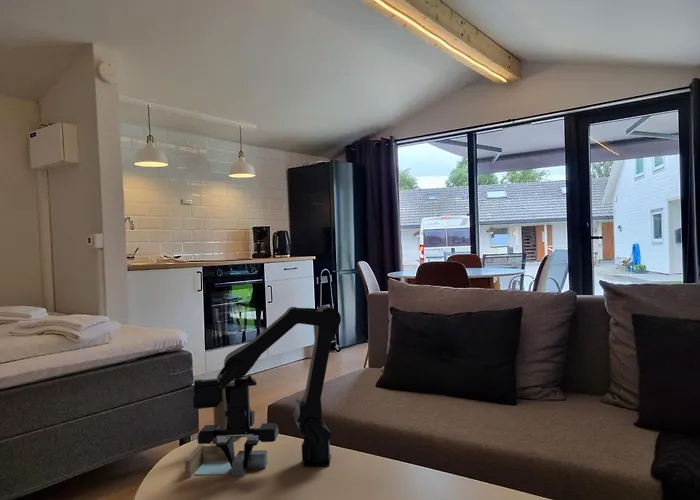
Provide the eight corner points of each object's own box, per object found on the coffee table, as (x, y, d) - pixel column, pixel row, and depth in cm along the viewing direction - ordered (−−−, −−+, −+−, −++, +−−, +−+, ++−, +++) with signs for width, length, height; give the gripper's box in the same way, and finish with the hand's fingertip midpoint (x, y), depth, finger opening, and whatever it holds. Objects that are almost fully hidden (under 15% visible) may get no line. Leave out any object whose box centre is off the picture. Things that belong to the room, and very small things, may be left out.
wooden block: (244, 435, 152) (242, 374, 152) (223, 449, 142) (220, 383, 142) (233, 434, 153) (231, 373, 154) (211, 447, 143) (209, 382, 143)
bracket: (240, 464, 131) (239, 450, 131) (267, 464, 131) (266, 450, 131) (232, 476, 124) (231, 461, 124) (261, 476, 124) (260, 461, 124)
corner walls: (234, 458, 135) (234, 443, 135) (223, 476, 124) (222, 459, 124) (199, 459, 135) (199, 444, 135) (185, 477, 124) (185, 460, 125)
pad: (235, 461, 133) (235, 460, 133) (226, 474, 125) (226, 473, 125) (204, 461, 134) (204, 461, 134) (194, 475, 126) (194, 474, 126)
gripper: (280, 394, 134) (283, 454, 134) (209, 396, 135) (211, 456, 134) (273, 407, 123) (275, 472, 123) (195, 409, 123) (198, 474, 123)
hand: (239, 468), depth 126 cm, fingers closed on bracket, 3 cm apart
